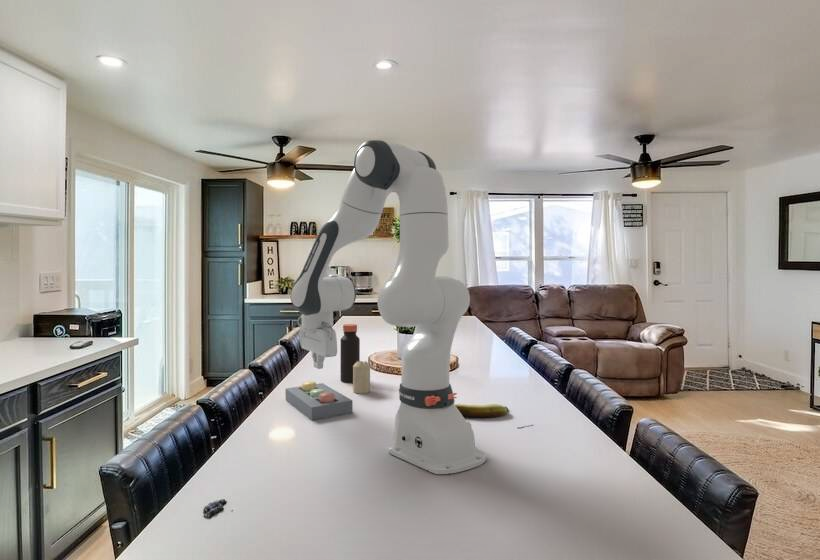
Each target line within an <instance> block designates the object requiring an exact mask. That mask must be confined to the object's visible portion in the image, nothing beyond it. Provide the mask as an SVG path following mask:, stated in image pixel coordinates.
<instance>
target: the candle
mask: <svg viewBox="0 0 820 560" xmlns="http://www.w3.org/2000/svg"><path fill="white" fill-rule="evenodd" d="M370 391H371V365H370V364H369V362H368V361H367V360H364V361H361V360H360V361H357V362H356V363H355V364H354V365H353V382H352V392H353V393H355V394H367V393H370Z"/></svg>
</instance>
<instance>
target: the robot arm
mask: <svg viewBox="0 0 820 560" xmlns="http://www.w3.org/2000/svg"><path fill="white" fill-rule="evenodd" d="M353 164H354V166H353V167H354V168H353V170H352V172H351V174H350V176H349V178H348V180H347V183H346V184H345V187H344V189H343V193H342V196H341V200H340V203H339V205H338V207H337V210H336V211H335V212H334V214H333V215H332V217H331V218H330V219H329V220H328V221H326V222H325V223H324V224H323V225H322V226H321V228H320V230H319V232H318V234H317V236H316V238H315V241H314V242H313V245H312V247H311V249H310V252H309V253H308V256H307V258H306V261H305V263H304V266H303V269H302V270H301V272H300V274H299V276H298V278H296V280H295V282H294V284H293V285H292V288H291V290H290V301H291V304H292V306H293V307H294V309H295V310H296V311H298V312H299V313H300V314H301V315H300V317H298V318H297V326H299V330H298V331H299V343H300V346H301V349H303V350H306V351H309V352H311V358H312V361H313V368H316V369H318V370H321V369H323V368H324V362H325V359H326V358H332V357H336V356H337V354H338V339H337V333H336V330H335V329H334V327H333V326H334V312H340V311H346V310H348V309H351V308H352V307H353V305H354V304H355V301H356V298H357V289H356V286H355V284H354V282H353V280H352V279H351V278H349V277H345V276H342V275H340V274H338V273H336V272H334V270H332V268H331V266H330V264H331V261H332V260H333V257H334V255H335V254H336V253H337V252H338V251H339V250H341V249H342V248H344V247H346V246H348V245H350V244H352V243H353V244H354V243H356V242H359V241H362V240H364V239H366V238H368V237H370V236H371V235H373V233H375V231H376V229H377V227H378V225H379V223H380V220H381V217H382V215H383V210H384V207H385V205H386V204H385V203H386V200H387V198H388V196H389V195H390V194H392V193H395V194H396V195H397V196H398V200H399V201H398V202H399V251H398V256H397V260H396V263H395V266H394V269H393V272H392V274H391V275H390V278H389V279H388V280H387V281H386V282H385V283H384V284H383V286H382V287H380V290H379V292H378V296H377V309H378V312H379V314H380V317H381V318H382V319H383V321H384V322H386V323H387V324H389V325H392V326H395V327H404V328H412V327H413V328H414V327H415V328H414V330H413V334H412V336H411V338H410V339H409V341H408V342H407V343H406V344H405V345H404V347H403V349H402V352H401V382H400V383H399V388H398V389H399V390H398V393H399V396H398V397H399V401H400V405H399V407H398V409H397V412H396V414H395V419H394V429H393V430H394V431H393V441H392V444H391V445H390V446H389V449H388V453H389V454H390V455H393V456H395V457H396V458H398V459H401V460H403V461H405V462H408V463H410V464H411V465H415V466H417V467H419V468H421V469H423V470H425V471H427V470H428V471H427V472H430V473H432V474H435V475H449V473H450V474H456V473H461V472H464V471H467V470H471V469H474V468H476V467H479V466H481V465H482V464H484V463H485V462H486V461H487V454H486V453H485V452H483V450H481V449H479V448H478V447H476V441H475V434H474V429H473V428H472V424H471V422H470V421H469V420H466V418H464V417H463V416H462V414H461V413H460V411H459V410H458V409H457V407H456V406H455V405H456V404H455V403H456V402H455V401H456V400H455V399H457V398H458V397H457V396H456V395H457V394H458V393H457V392H454V391H453V387H452V385H451V383H450V370H451V369H450V368H451V367H450V365H451V352H452V345H453V342H454V337H455V334H456V331H457V328H458V325H459V322H460V321H461V319H462V318H463V316H464V315H465V314H466V313H467V311H468V310H469V307H470V303H471V297H470V296H471V295H470V291H469V288H468V287H467V286H466V284H465V283H464V282H462V281H461V280H458V279H456V278H453V277H451V276H450V277H449V276H446V275H445V276H442V275H440V276H438V275H437V276H436V274H437V268H438V266H439V263H440V261H441V259H442V257H443V256H445V254H447V251H448V250H449V219H448V218H449V215H448V214H449V212H448V210H449V209H448V202H447V201H448V200H447V194H446V193H447V192H446V187H445V183H444V178H443V176H442V174H441V172H439V170H437V166H436V163H435V162H434V160H433V159H432V157H430V156H429V155H428V154H426V153H424V152H423V151H417V150H415V149H412V148H410V147H407V146H405V145H402V144H399V143H393V142H386V141H384V140H381V139H375V140H368V141H365V142H363V143H362V144H361V145H360V146H359V147H358V149H357V150H356V154H355V156H354V161H353Z"/></svg>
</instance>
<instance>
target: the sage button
mask: <svg viewBox="0 0 820 560" xmlns="http://www.w3.org/2000/svg"><path fill="white" fill-rule="evenodd" d="M323 392H325V390H323V389H314V390H311V391H310V396H311V397H312V398H313V397H319V394H320V393H323Z"/></svg>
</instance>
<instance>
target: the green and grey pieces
mask: <svg viewBox="0 0 820 560" xmlns="http://www.w3.org/2000/svg"><path fill="white" fill-rule="evenodd" d="M455 406H456V407H457V409H458V410H459V411H460V413H461V414H462V416H463V417H464V418H465V419H489V418H490V419H491V418H499V417H503V416H505V415H506V414H507V413H508V412H509V408H508V407H507V406H504V405H502V404H498V403H497V404H496V403H491V404H462V403H461V404H460V403H458V404H455ZM530 426H532V424H531V425H529V427H530ZM525 427H527V425H524V426H521V427H519V426H517V427H516V429H517V430H518V429H522V428H525Z"/></svg>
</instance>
